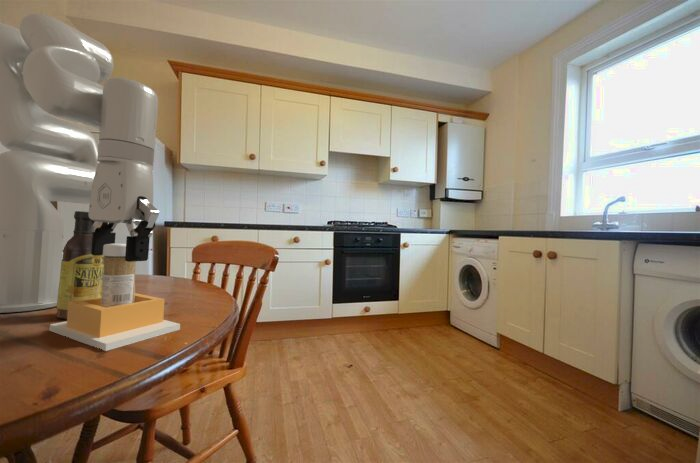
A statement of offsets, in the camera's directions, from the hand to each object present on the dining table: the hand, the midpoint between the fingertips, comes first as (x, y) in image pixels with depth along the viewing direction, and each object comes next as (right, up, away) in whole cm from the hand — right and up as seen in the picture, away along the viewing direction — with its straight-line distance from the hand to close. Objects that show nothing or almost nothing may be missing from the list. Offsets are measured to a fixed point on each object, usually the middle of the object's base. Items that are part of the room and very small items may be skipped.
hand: (118, 257), depth 49 cm
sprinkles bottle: (0, -11, 0) cm, 11 cm away
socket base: (0, -12, 0) cm, 12 cm away
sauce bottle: (-12, -12, +6) cm, 18 cm away
